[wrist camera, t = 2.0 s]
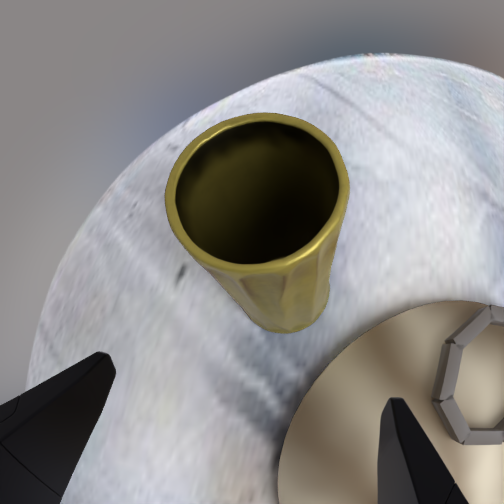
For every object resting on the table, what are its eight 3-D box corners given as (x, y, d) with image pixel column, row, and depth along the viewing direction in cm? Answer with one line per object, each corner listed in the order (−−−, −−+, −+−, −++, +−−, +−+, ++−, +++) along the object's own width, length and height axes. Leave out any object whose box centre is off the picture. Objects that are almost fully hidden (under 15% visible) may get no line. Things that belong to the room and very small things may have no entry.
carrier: (358, 605, 12) (362, 624, 9) (217, 418, 20) (204, 426, 17) (567, 447, 12) (586, 451, 10) (475, 245, 20) (493, 230, 18)
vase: (341, 263, 22) (385, 129, 9) (309, 347, 20) (322, 330, 7) (260, 235, 23) (207, 89, 10) (226, 314, 22) (114, 244, 9)
